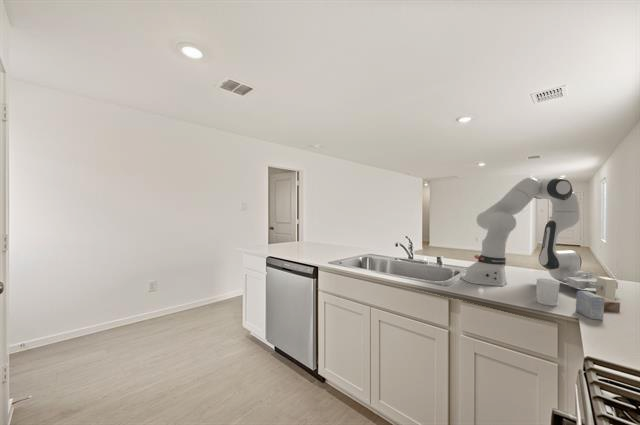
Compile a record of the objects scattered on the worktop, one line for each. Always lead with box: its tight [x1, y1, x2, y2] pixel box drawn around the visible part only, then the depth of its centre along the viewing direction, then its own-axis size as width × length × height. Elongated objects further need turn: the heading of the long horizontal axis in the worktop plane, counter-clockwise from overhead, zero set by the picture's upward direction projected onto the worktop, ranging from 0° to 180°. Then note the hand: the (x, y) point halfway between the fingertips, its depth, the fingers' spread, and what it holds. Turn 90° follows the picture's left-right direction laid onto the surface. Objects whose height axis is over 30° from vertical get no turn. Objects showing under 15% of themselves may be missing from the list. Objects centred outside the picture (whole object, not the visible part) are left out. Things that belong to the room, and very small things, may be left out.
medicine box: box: [575, 290, 605, 321], centre depth 107 cm, size 8×4×9 cm, turn 168°
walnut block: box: [598, 295, 621, 312], centre depth 117 cm, size 9×9×4 cm
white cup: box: [535, 277, 561, 307], centre depth 120 cm, size 8×8×10 cm
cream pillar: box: [595, 276, 617, 301], centre depth 127 cm, size 4×4×10 cm
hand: (607, 288), depth 126 cm, fingers closed on cream pillar, 4 cm apart
